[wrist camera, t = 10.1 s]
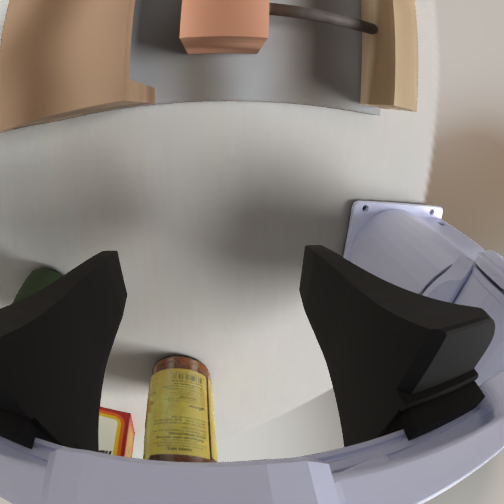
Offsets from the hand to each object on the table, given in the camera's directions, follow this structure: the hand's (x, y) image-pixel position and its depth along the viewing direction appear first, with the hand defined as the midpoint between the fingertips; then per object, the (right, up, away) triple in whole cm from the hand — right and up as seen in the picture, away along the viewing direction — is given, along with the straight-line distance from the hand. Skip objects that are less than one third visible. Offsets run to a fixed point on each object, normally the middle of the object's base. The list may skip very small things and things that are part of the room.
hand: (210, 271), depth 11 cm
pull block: (+4, +15, +2) cm, 15 cm away
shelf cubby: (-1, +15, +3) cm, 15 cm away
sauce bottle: (-6, -12, +16) cm, 21 cm away
